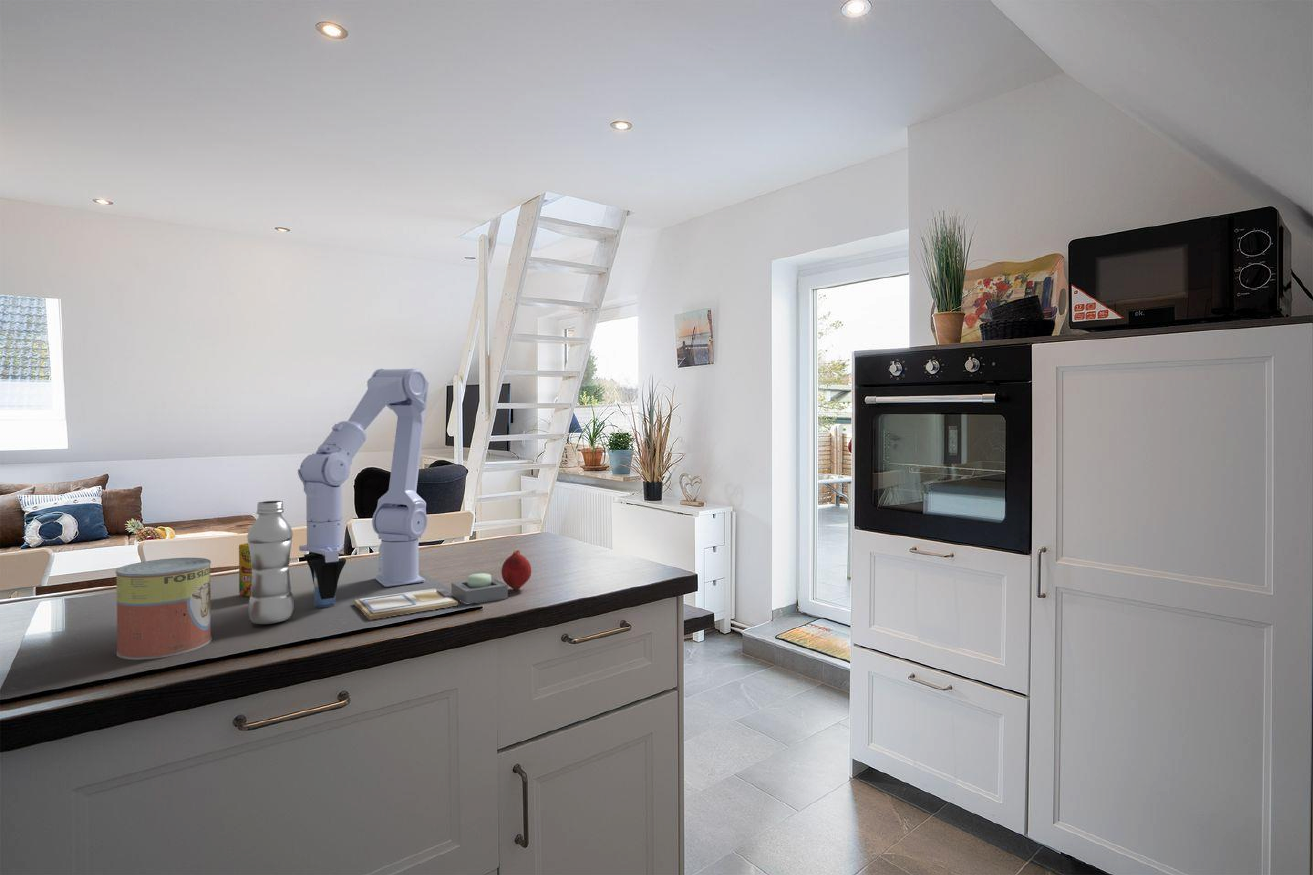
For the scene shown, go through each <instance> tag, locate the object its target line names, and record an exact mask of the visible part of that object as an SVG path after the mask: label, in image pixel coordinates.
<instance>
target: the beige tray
mask: <svg viewBox="0 0 1313 875" xmlns="http://www.w3.org/2000/svg"><path fill="white" fill-rule="evenodd" d="M353 601H354V602H353V604H354V606H355V607H356V608H357V609H358V610H359V611H360V610H361V611H362V612H363V613H364V614H363V613H362V612H361V611H360V612H361V613H362V614H363V615H364V616H365V617H366V618H367V619H368V621H370V620H371V621H374V620H373V619H377V620H379V619H378V618H383V619H385V618H384V617H389V616H393V615H400V614H406V613H411V612H418V611H423V610H433V611H436V610H435V609H439V608H443V607H449V606H455V605H458V606H459V601H458V600H457V599H455V598H454V597H453V596H452V594H451V593H450V592H449V591H447V590H446V589H443V588H440V589H439V588H437V587H436V588H435V587H434V588H426V589H420V590H413V591H408V592H400V593H392V594H386V595H385V594H383V595H378V596H372V597H365V598H363V597H362V598H357V599H354V600H353ZM439 610H440V609H439ZM389 618H390V617H389Z"/></svg>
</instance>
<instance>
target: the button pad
mask: <svg viewBox="0 0 1313 875" xmlns="http://www.w3.org/2000/svg"><path fill="white" fill-rule="evenodd" d="M450 587H451V588H450V589H451V590H450V591H451V593H450V594H452V598H454V599H456V598H457V599H456V600H457V601H459V600H461V601H463V602H465V603H476V604H481V603H482V604H483V603H488V602H489V603H490V602H493V601H500V600H507V599H508V596H509V595H508V594H509V592H508V591H509V590H508V588H509V586H508V585H507V584H506V583H505V582H502V581H501V580H498V579H496V578H494V577H492V576H491V586H486V587H479V588H473V589H471V588H469V587H467V579H466V580H460V581H454V582H453V581H452V582H451V586H450ZM461 601H460V602H461Z"/></svg>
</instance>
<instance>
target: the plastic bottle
mask: <svg viewBox="0 0 1313 875" xmlns="http://www.w3.org/2000/svg"><path fill="white" fill-rule="evenodd" d="M284 511H285V510H284V501H283V500H265V501H264V500H263V501H258V502H257V510H256V515H258V516H257V519H256V520H255V521H254V522H253V523H252V524H251V527H250V528H249V530H248V533H247V535H246V538H247V543H248V545H249V551H250V556H251V566H252V586H251V597H249V600H248V607H247V608H248V609H247V612H248V616H249V619H250V621H251V622H252V623H254V624H258V625H272V624H277V623H280V622H284V621H286V620H288V619H290V618H291V617H292V615H293V613H294V608H295V602H294V594H293V592H292V586H291V576H290V561H291V560H290V559H291V558H290V556H291V550H292V549H291V548H292V542H293V530H292V529H293V528H292V527H291V526H290V524H289V523H288V521H287V520H286V519H285V518H284V517H283V516H282V515H283V513H284Z"/></svg>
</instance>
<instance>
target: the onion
mask: <svg viewBox="0 0 1313 875" xmlns="http://www.w3.org/2000/svg"><path fill="white" fill-rule="evenodd" d="M500 572H501V578H502V580H503V581H504V582H503V583H504V584H506V585H508V587H510V588H511V589H513V590H515V591H517V590H520V588H522V587H523V586H524V585H525V584H527V582H528V581H529V580H530V578H531V576H532V565H531V564H530V561H529V560H528V559H527V557H525V556H524V555H522V554H521V550H520V549H515V550H514V551H513V553H512V554H511V555H510V556H509V557H507V558H506V559H505V561H504V562H503V564H502V566H501V571H500Z"/></svg>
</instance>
